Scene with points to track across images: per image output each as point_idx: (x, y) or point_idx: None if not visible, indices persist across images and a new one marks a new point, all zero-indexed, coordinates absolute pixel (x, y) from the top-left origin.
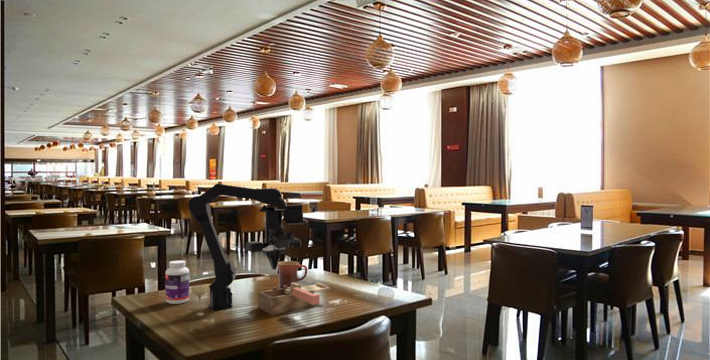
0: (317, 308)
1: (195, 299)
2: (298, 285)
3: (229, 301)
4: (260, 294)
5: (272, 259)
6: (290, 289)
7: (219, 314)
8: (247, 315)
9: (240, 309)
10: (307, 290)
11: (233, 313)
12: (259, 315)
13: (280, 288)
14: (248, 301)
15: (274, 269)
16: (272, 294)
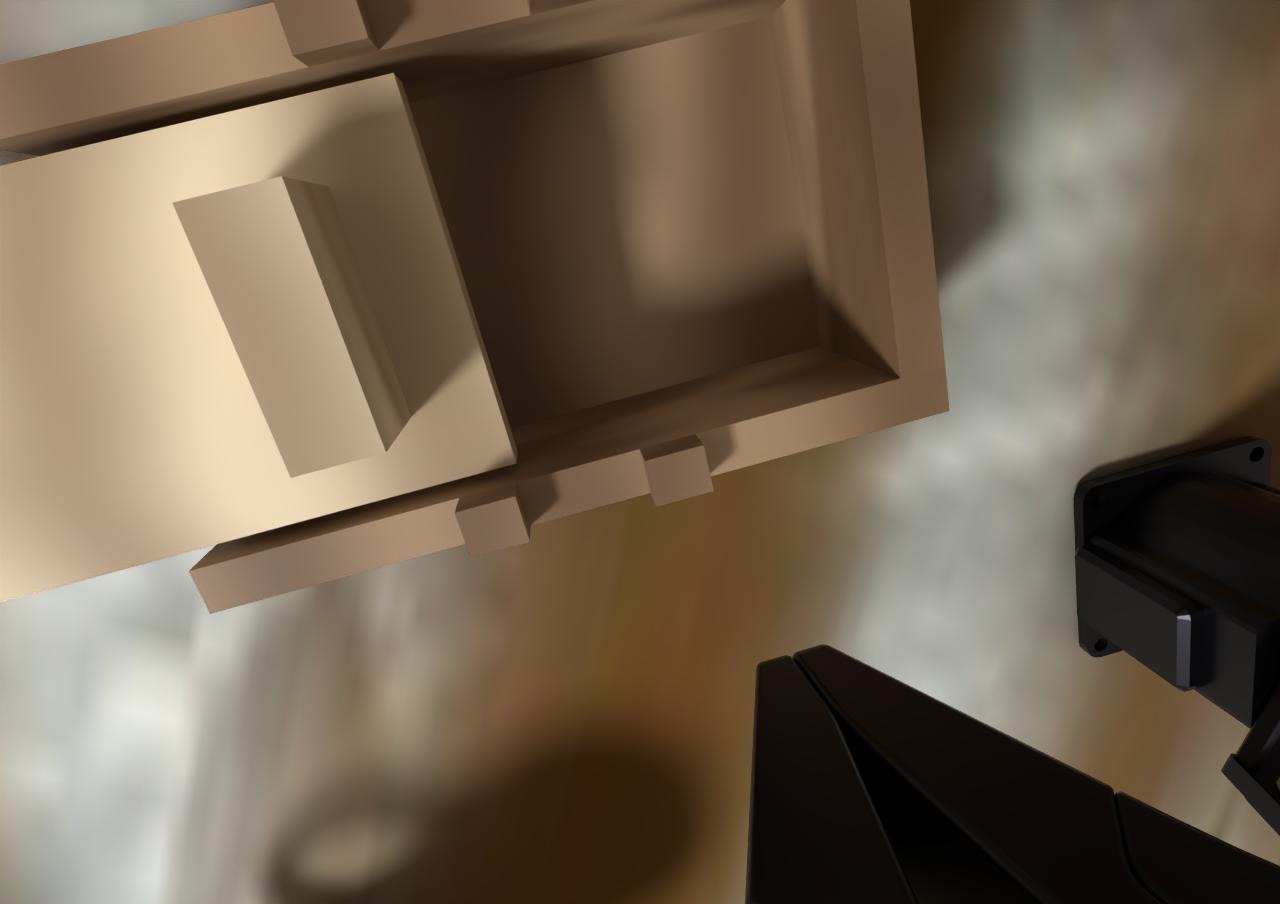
0: (84, 13)
1: (1244, 846)
2: (240, 191)
3: (1134, 544)
4: (928, 326)
5: (1151, 847)
6: (413, 433)
7: (1259, 281)
8: (1036, 103)
9: (1025, 388)
10: (93, 237)
11: (1135, 259)
12: (918, 34)
13: (574, 509)
14: (866, 658)
15: (796, 654)
16: (710, 411)
